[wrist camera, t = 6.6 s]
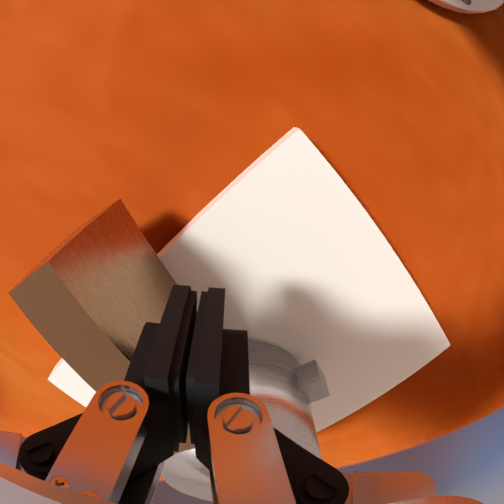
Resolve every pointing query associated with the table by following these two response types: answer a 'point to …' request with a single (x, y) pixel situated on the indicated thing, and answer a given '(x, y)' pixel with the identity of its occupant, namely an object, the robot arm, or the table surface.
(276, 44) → the table surface
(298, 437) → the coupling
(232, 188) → the base
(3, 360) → the table surface
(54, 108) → the table surface
